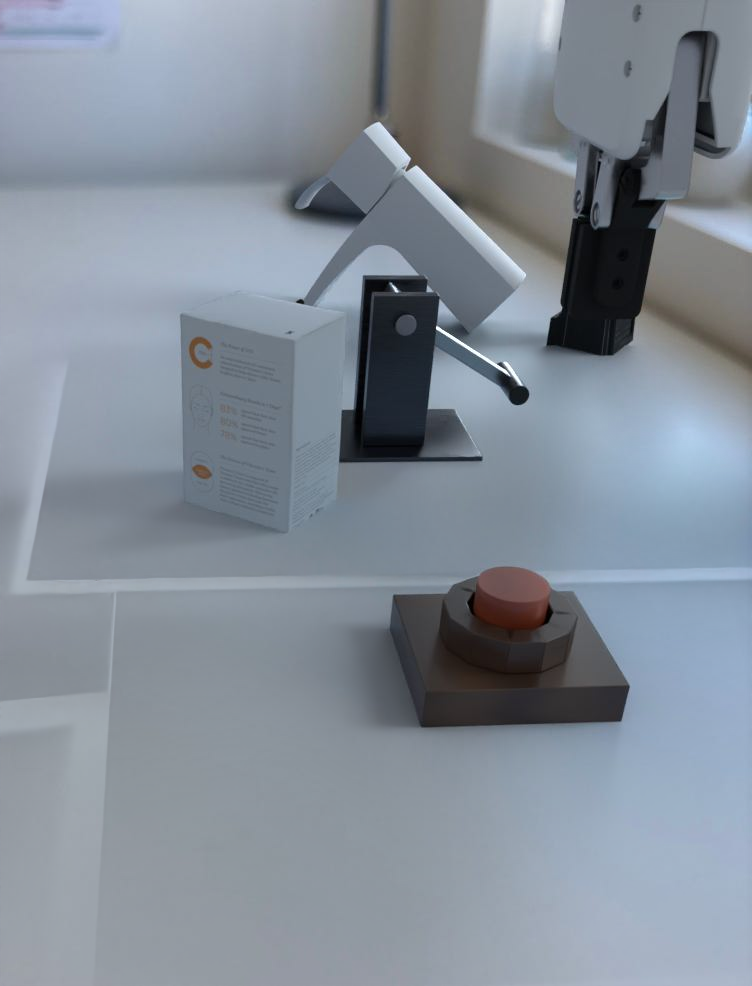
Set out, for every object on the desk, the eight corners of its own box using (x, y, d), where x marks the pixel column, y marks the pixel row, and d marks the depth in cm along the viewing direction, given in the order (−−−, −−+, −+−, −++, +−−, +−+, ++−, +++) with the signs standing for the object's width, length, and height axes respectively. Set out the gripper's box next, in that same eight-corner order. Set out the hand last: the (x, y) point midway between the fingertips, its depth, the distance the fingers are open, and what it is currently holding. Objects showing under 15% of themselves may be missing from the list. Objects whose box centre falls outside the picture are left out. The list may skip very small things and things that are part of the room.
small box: (338, 509, 74) (351, 311, 67) (286, 547, 70) (294, 339, 63) (236, 478, 78) (237, 287, 71) (180, 512, 73) (176, 312, 66)
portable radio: (604, 370, 98) (668, 46, 84) (539, 356, 101) (590, 40, 87) (633, 346, 104) (697, 39, 90) (571, 333, 106) (623, 33, 93)
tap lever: (498, 389, 84) (519, 362, 83) (516, 414, 80) (538, 386, 79) (365, 305, 80) (385, 275, 79) (377, 327, 75) (398, 296, 74)
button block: (566, 624, 63) (579, 561, 61) (621, 722, 56) (638, 654, 53) (389, 628, 62) (395, 564, 60) (421, 728, 55) (429, 660, 52)
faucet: (517, 289, 101) (361, 121, 99) (393, 405, 111) (248, 255, 108) (529, 271, 106) (380, 111, 104) (410, 384, 116) (271, 240, 113)
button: (533, 594, 59) (539, 565, 58) (554, 632, 56) (560, 601, 55) (465, 596, 58) (469, 566, 57) (482, 634, 55) (486, 603, 54)
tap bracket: (453, 423, 87) (472, 267, 81) (481, 472, 80) (504, 305, 73) (298, 424, 86) (305, 266, 80) (311, 474, 79) (320, 305, 72)
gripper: (896, -201, 35) (751, 370, 45) (701, -177, 48) (621, 267, 58) (662, -206, 34) (568, 374, 45) (526, -180, 47) (477, 269, 57)
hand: (598, 312), depth 51 cm, fingers closed
